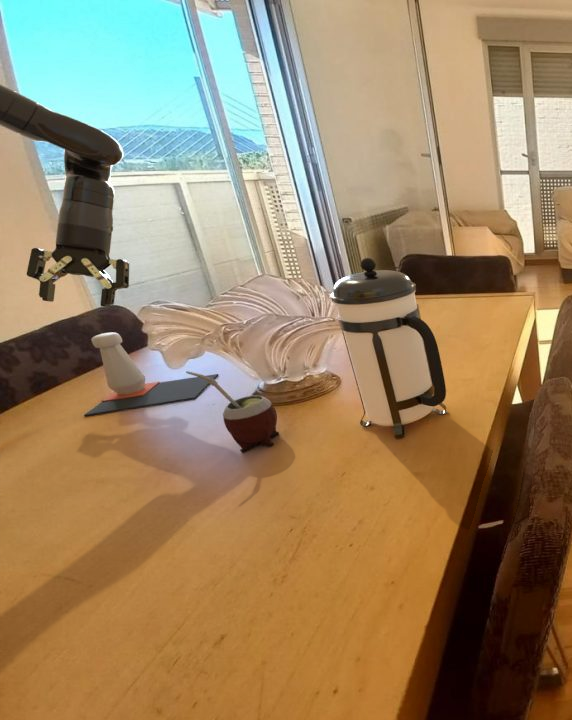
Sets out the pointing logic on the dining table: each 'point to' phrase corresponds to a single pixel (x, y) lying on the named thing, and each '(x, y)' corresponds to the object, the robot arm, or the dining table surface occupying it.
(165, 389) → the dark grey flat slab
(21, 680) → the dining table surface
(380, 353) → the coffee press
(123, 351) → the salt shaker
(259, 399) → the mate gourd
